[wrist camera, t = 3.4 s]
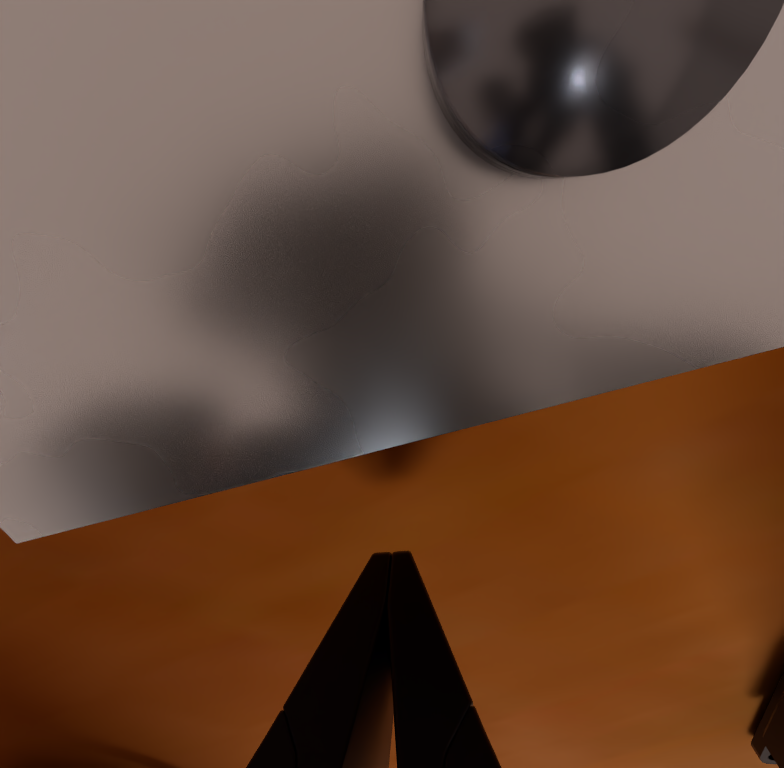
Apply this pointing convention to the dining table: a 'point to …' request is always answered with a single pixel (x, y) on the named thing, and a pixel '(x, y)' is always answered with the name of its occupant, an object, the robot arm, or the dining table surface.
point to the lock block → (362, 227)
